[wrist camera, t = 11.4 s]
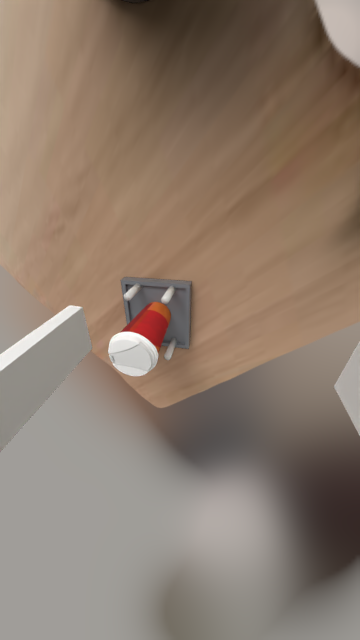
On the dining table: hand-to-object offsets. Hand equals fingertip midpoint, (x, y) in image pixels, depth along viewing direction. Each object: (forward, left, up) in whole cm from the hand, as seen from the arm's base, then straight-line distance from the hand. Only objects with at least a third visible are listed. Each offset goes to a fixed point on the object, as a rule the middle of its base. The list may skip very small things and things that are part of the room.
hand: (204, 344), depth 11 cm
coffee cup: (+15, -12, -30) cm, 36 cm away
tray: (+15, -12, -31) cm, 37 cm away
